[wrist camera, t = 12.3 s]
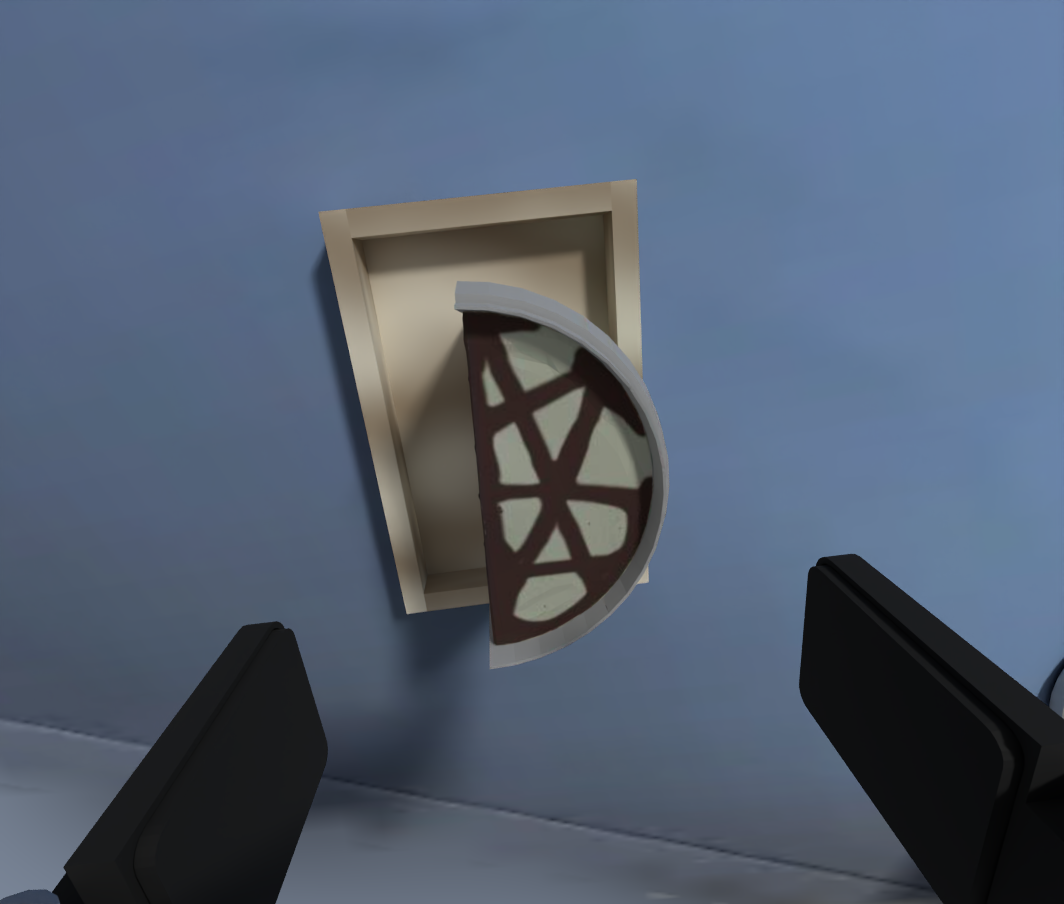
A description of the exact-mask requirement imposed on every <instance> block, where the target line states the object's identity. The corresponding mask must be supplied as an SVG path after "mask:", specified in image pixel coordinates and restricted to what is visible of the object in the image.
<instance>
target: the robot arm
mask: <svg viewBox="0 0 1064 904" xmlns="http://www.w3.org/2000/svg"><path fill="white" fill-rule="evenodd" d="M799 688H800V693H801V697H802V699H803V702H804V704H805V706H806V707H807V709H808V710H809V712H810V713H811V715H812V716H813V717H814V719H815V720H816V722H817V723H818V725H819V726H820V727H821V729H822V730H823V732H824V733H825V735H826V736H827V738H828V739H829V740H830V742H831V743H832V745H833V746H834V748H835V749H836V750H837V752H838V753H839V755H840V756H841V758H842V759H843V760H844V762H845V763H846V765H847V766H848V768H849V769H850V771H851V772H852V773H853V775H854V776H855V778H856V779H857V781H858V782H859V783H860V785H861V786H862V788H863V789H864V791H865V792H866V793H867V795H868V796H869V798H870V799H871V801H872V802H873V804H874V805H875V806H876V808H877V809H878V811H879V812H880V814H881V815H882V816H883V818H884V819H885V821H886V822H887V824H888V825H889V826H890V828H891V829H892V831H893V832H894V834H895V835H896V837H897V838H898V839H899V841H900V842H901V844H902V845H903V847H904V848H905V849H906V851H907V852H908V854H909V855H910V857H911V858H912V859H913V861H914V862H915V864H916V865H917V867H918V868H919V870H920V871H921V872H922V874H923V875H924V877H925V878H926V880H927V881H928V882H929V884H930V885H931V887H932V888H933V890H934V891H935V893H936V894H937V895H938V897H939V898H940V900H941V901H942V902H943V904H1064V669H1063V670H1062V672H1061V673H1060V675H1059V677H1058V678H1057V681H1056V683H1055V686H1054V688H1053V690H1052V693H1051V698H1050V704H1049V707H1048V706H1047V705H1046V704H1044V703H1043V702H1042V701H1041V700H1039V699H1038V698H1037V697H1036V696H1034V695H1033V694H1032V693H1031V692H1029V691H1028V690H1027V689H1026V688H1024V687H1023V686H1022V685H1021V684H1019V683H1018V682H1017V681H1016V680H1014V679H1013V678H1012V677H1011V676H1009V675H1008V674H1007V673H1006V672H1004V671H1003V670H1002V669H1000V668H999V667H998V666H997V665H995V664H994V663H993V662H992V661H990V660H989V659H988V658H987V657H985V656H984V655H983V654H982V653H980V652H979V651H978V650H977V649H975V648H974V647H973V646H972V645H970V644H969V643H968V642H967V641H965V640H964V639H963V638H962V637H960V636H959V635H958V634H957V633H955V632H954V631H953V630H952V629H950V628H949V627H948V626H946V625H945V624H944V623H943V622H941V621H940V620H939V619H938V618H936V617H935V616H934V615H933V614H931V613H930V612H929V611H928V610H926V609H925V608H924V607H923V606H921V605H920V604H919V603H918V602H916V601H915V600H914V599H913V598H911V597H910V596H909V595H908V594H906V593H905V592H904V591H903V590H901V589H900V588H899V587H898V586H896V585H895V584H894V583H892V582H891V581H890V580H889V579H887V578H886V577H885V576H884V575H882V574H881V573H880V572H879V571H877V570H876V569H875V568H874V567H872V566H871V565H870V564H869V563H867V562H866V561H865V560H864V559H862V558H861V557H860V556H858V555H856V554H846V555H837V556H829V557H822V558H820V559H819V560H818V562H817V564H816V566H814V567H811V568H810V570H809V573H808V581H807V594H806V606H805V618H804V630H803V643H802V655H801V667H800V679H799ZM327 754H328V746H327V740H326V737H325V733H324V730H323V727H322V724H321V720H320V717H319V714H318V710H317V707H316V704H315V700H314V697H313V694H312V691H311V687H310V684H309V681H308V677H307V674H306V671H305V667H304V664H303V661H302V658H301V654H300V651H299V648H298V644H297V641H296V638H295V635H294V632H293V631H292V630H291V629H289V628H288V629H285V628H284V626H283V625H282V624H281V623H280V622H277V621H276V622H268V623H259V624H251V625H245V626H243V627H242V628H241V629H240V630H239V631H238V632H237V634H236V635H235V636H234V638H233V639H232V640H231V642H230V643H229V644H228V646H227V647H226V648H225V650H224V651H223V652H222V654H221V655H220V657H219V658H218V659H217V661H216V662H215V663H214V665H213V666H212V667H211V669H210V670H209V671H208V673H207V674H206V675H205V677H204V678H203V679H202V681H201V682H200V683H199V685H198V686H197V688H196V689H195V690H194V692H193V693H192V694H191V696H190V697H189V698H188V700H187V701H186V702H185V704H184V705H183V706H182V708H181V709H180V710H179V712H178V713H177V714H176V716H175V717H174V719H173V720H172V721H171V723H170V724H169V725H168V727H167V728H166V729H165V731H164V732H163V733H162V735H161V736H160V737H159V739H158V740H157V741H156V743H155V744H154V746H153V747H152V748H151V750H150V751H149V752H148V754H147V755H146V756H145V758H144V759H143V760H142V762H141V763H140V764H139V766H138V767H137V768H136V770H135V771H134V772H133V774H132V775H131V777H130V778H129V779H128V781H127V782H126V783H125V785H124V786H123V787H122V789H121V790H120V791H119V793H118V794H117V795H116V797H115V798H114V799H113V801H112V802H111V803H110V805H109V806H108V808H107V809H106V810H105V812H104V813H103V814H102V816H101V817H100V818H99V820H98V821H97V822H96V824H95V825H94V826H93V828H92V829H91V831H90V832H89V833H88V835H87V836H86V837H85V839H84V840H83V841H82V843H81V844H80V846H79V847H78V848H77V849H76V851H75V852H74V854H73V855H72V856H71V857H70V859H69V860H68V861H67V863H66V864H65V866H64V869H65V871H66V874H65V875H64V876H63V878H62V879H61V881H60V882H59V883H58V885H57V886H56V887H55V889H54V890H53V892H52V893H51V892H50V891H48V890H27V891H24V892H21V893H17V894H14V895H11V896H8V897H5V898H3V899H1V900H0V904H275V903H276V900H277V898H278V895H279V892H280V889H281V887H282V884H283V881H284V878H285V876H286V873H287V870H288V867H289V865H290V862H291V859H292V856H293V854H294V851H295V848H296V845H297V843H298V840H299V837H300V834H301V831H302V829H303V826H304V823H305V820H306V818H307V815H308V812H309V809H310V807H311V804H312V801H313V798H314V796H315V793H316V790H317V787H318V785H319V782H320V779H321V776H322V774H323V771H324V768H325V765H326V761H327Z"/></svg>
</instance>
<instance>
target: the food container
mask: <svg viewBox="0 0 1064 904" xmlns="http://www.w3.org/2000/svg"><path fill="white" fill-rule="evenodd" d="M455 302H456V303H455V305H454V309H455V310H457V311H459V312H461V313H463V316H462V321H463V328H464V330H463V341H464V345H465V350H466V356H467V365H468V381H469V387H470V399H471V410H472V420H473V429H474V439H475V446H474V448H475V453H476V461H477V472H478V483H479V494H478V496H479V499H480V506H481V515H482V525H483V535H484V543H483V544H484V547H485V560H486V572H487V583H488V593H489V625H490V669H495V668H501V667H507V666H513V665H517V664H521V663H524V662H528V661H531V660H534V659H538V658H541V657H544V656H546V655H548V654H551V653H553V652H555V651H557V650H560V649H562V648H564V647H566V646H568V645H570V644H571V643H573V642H575V641H576V640H578V639H580V638H581V637H583V636H585V635H586V634H588V633H589V632H591V631H592V630H593V629H594V628H596V627H597V626H598V625H599V624H601V623H602V622H603V621H604V620H605V619H607V618H608V617H609V616H610V615H611V614H612V613H613V612H614V611H615V610H616V609H617V608H618V607H619V606H620V605H621V604H622V602H623V601H624V600H625V599H626V598H627V597H628V596H629V595H630V593H631V592H632V590H633V589H634V587H635V586H636V584H637V583H638V581H639V580H640V579H641V577H642V576H643V574H644V572H645V570H646V568H647V566H648V564H649V562H650V560H651V558H652V556H653V553H654V551H655V549H656V546H657V543H658V539H659V536H660V532H661V529H662V526H663V522H664V518H665V515H666V509H667V501H668V493H669V467H668V455H667V450H666V446H665V441H664V437H663V432H662V428H661V424H660V421H659V418H658V414H657V411H656V409H655V406H654V404H653V402H652V399H651V397H650V394H649V392H648V389H647V387H646V385H645V383H644V382H643V380H642V378H641V377H640V375H639V374H638V372H637V370H636V369H635V367H634V366H633V364H632V362H631V361H630V359H629V358H628V357H627V356H626V355H625V354H624V353H623V352H622V350H621V349H620V348H619V347H618V346H617V345H616V344H615V343H614V341H613V340H612V339H611V338H610V337H609V336H608V335H607V334H605V333H604V332H603V331H602V330H600V329H599V328H598V327H597V326H595V325H594V324H593V323H592V322H590V321H589V320H588V319H587V318H585V317H584V316H583V315H581V314H579V313H577V312H575V311H574V310H572V309H570V308H568V307H566V306H565V305H563V304H561V303H559V302H557V301H556V300H554V299H551V298H548V297H545V296H542V295H540V294H537V293H534V292H531V291H529V290H526V289H523V288H518V287H513V286H507V285H502V284H497V283H491V282H470V281H457V283H456V289H455Z"/></svg>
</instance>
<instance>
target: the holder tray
mask: <svg viewBox="0 0 1064 904" xmlns="http://www.w3.org/2000/svg"><path fill="white" fill-rule="evenodd" d="M319 217H320V221H321V226H322V230H323V235H324V239H325V244H326V249H327V253H328V258H329V262H330V267H331V271H332V276H333V280H334V285H335V290H336V294H337V299H338V303H339V308H340V312H341V317H342V321H343V326H344V331H345V335H346V340H347V344H348V349H349V353H350V358H351V362H352V367H353V371H354V376H355V381H356V385H357V390H358V394H359V399H360V403H361V408H362V412H363V417H364V422H365V426H366V431H367V435H368V440H369V444H370V449H371V453H372V458H373V463H374V467H375V472H376V476H377V481H378V485H379V490H380V494H381V499H382V504H383V508H384V513H385V517H386V522H387V526H388V531H389V535H390V540H391V545H392V549H393V554H394V558H395V563H396V567H397V572H398V576H399V581H400V586H401V590H402V595H403V599H404V604H405V608H406V613H407V614H411V613H419V612H426V611H434V610H441V609H449V608H457V607H464V606H472V605H480V604H487V603H489V593H488V583H487V572H486V560H485V547H484V544H483V543H484V535H483V525H482V515H481V506H480V499H479V496H478V494H479V483H478V472H477V461H476V453H475V448H474V446H475V439H474V429H473V420H472V410H471V399H470V387H469V381H468V365H467V356H466V350H465V345H464V341H463V330H464V328H463V321H462V316H463V313H461V312H459V311H457V310H455V309H454V305H455V303H456V302H455V289H456V283H457V281H470V282H491V283H497V284H502V285H507V286H513V287H518V288H523V289H526V290H529V291H531V292H534V293H537V294H540V295H542V296H545V297H548V298H551V299H554V300H556V301H557V302H559V303H561V304H563V305H565V306H566V307H568V308H570V309H572V310H574V311H575V312H577V313H579V314H581V315H583V316H584V317H585V318H587V319H588V320H589V321H590V322H592V323H593V324H594V325H595V326H597V327H598V328H599V329H600V330H602V331H603V332H604V333H605V334H607V335H608V336H609V337H610V338H611V339H612V340H613V341H614V343H615V344H616V345H617V346H618V347H619V348H620V349H621V350H622V352H623V353H624V354H625V355H626V356H627V357H628V358H629V359H630V361H631V362H632V364H633V366H634V367H635V369H636V370H637V372H638V374H639V375H640V377H641V378H642V345H641V312H640V278H639V245H638V211H637V179H633V180H623V181H614V182H604V183H594V184H584V185H575V186H565V187H555V188H546V189H536V190H526V191H517V192H507V193H497V194H487V195H478V196H468V197H458V198H449V199H439V200H429V201H420V202H410V203H400V204H390V205H381V206H371V207H361V208H352V209H342V210H332V211H322V212H319ZM642 380H643V378H642ZM647 582H649V579H648V566H647V568H646V570H645V572H644V574H643V576H642V577H641V579H640V580H639V581H638V583H637V584H639V583H647Z"/></svg>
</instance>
